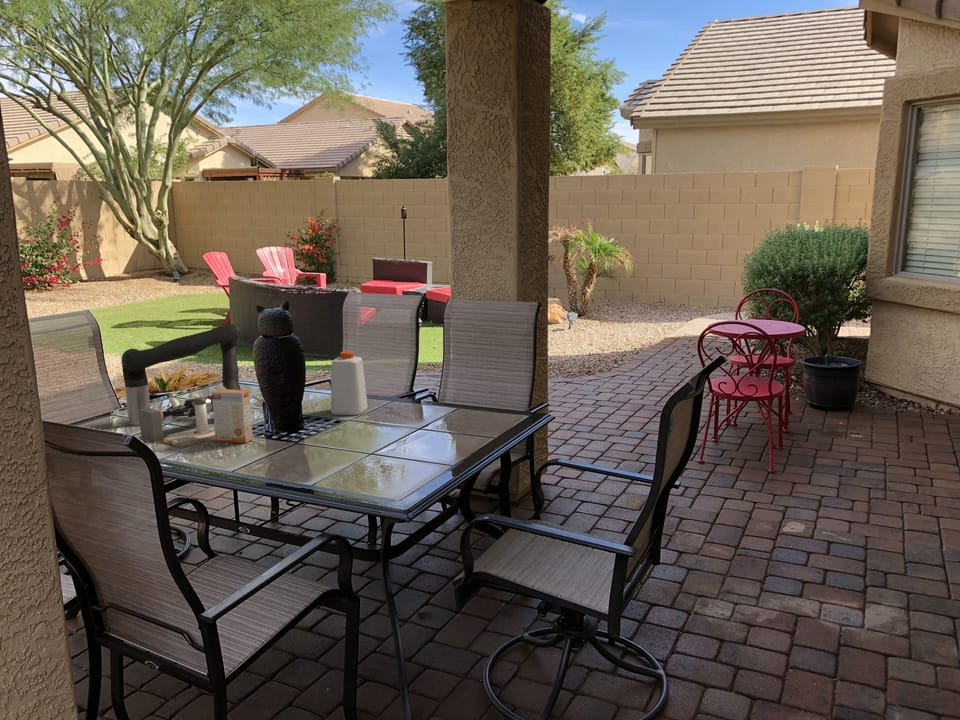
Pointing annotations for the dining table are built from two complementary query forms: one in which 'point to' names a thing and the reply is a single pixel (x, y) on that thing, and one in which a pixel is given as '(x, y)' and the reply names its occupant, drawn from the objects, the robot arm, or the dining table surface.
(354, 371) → the plastic bottle
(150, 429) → the button panel
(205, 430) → the white shaker grey cap
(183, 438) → the beige board with ring
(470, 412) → the dining table surface
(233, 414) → the cracker box
